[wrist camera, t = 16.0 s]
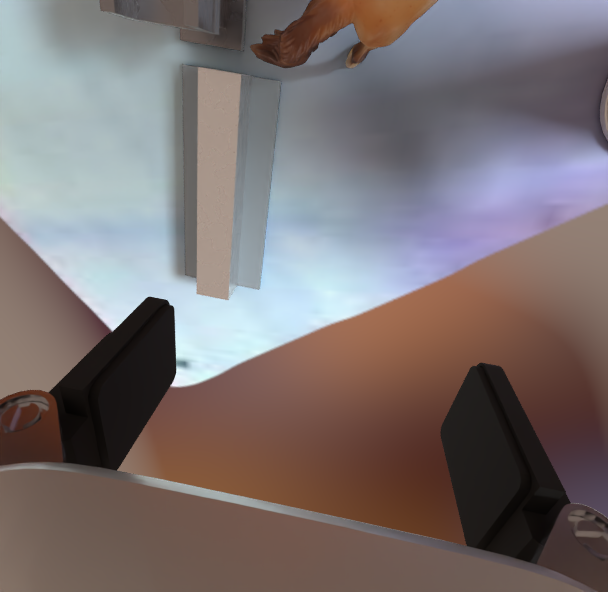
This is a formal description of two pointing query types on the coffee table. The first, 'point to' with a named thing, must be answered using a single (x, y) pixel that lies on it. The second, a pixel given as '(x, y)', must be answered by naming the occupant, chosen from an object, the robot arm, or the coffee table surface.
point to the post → (189, 18)
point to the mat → (256, 174)
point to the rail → (220, 177)
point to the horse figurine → (334, 16)
